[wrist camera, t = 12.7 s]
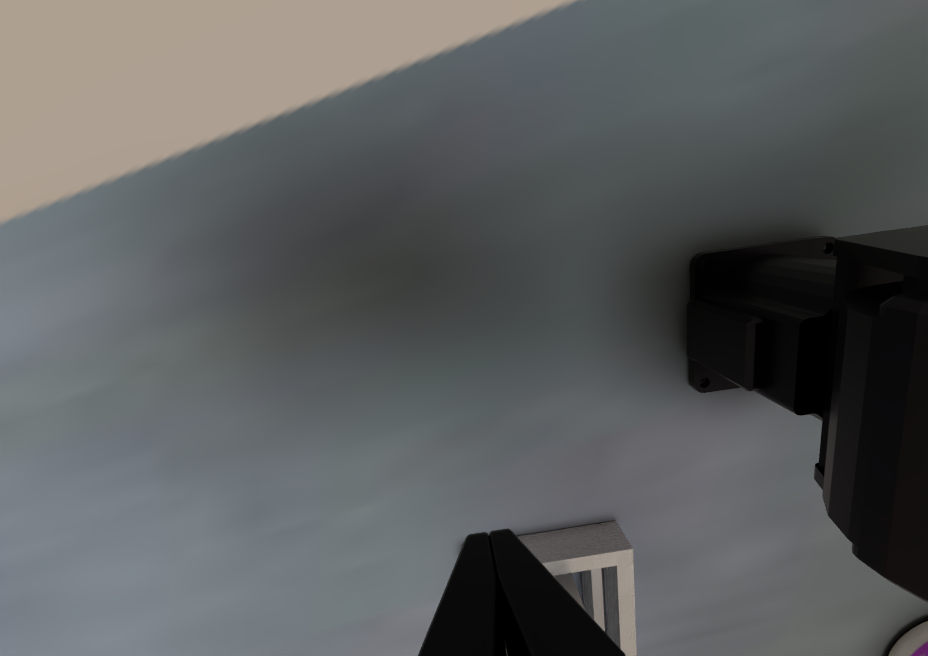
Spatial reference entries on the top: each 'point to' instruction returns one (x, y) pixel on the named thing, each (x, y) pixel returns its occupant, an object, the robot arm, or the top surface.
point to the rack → (595, 573)
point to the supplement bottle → (912, 642)
